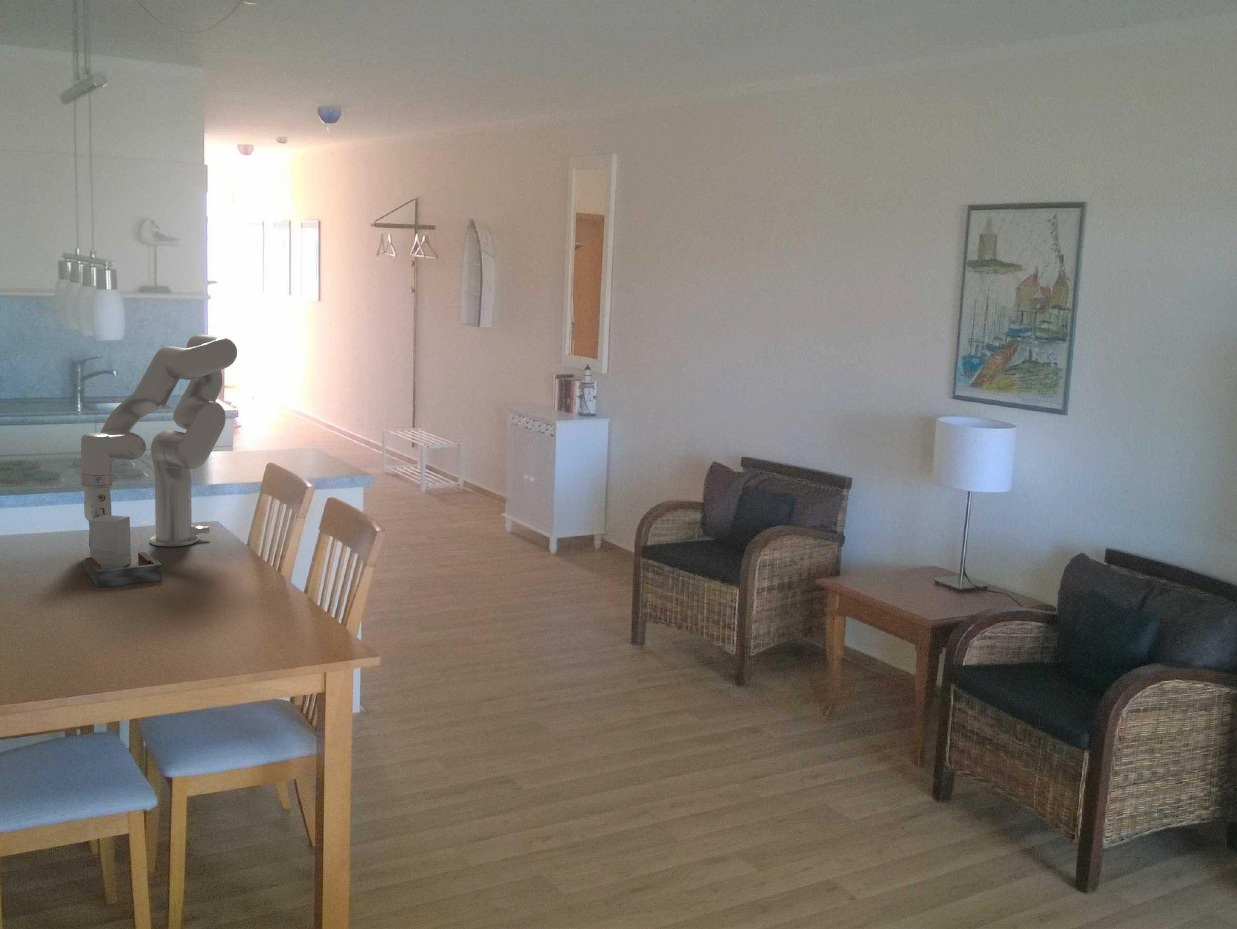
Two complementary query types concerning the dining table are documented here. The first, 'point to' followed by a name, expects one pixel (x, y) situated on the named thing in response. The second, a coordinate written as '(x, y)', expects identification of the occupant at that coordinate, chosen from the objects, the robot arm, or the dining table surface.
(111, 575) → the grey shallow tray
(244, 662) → the dining table surface
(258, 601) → the dining table surface
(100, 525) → the supplement box
